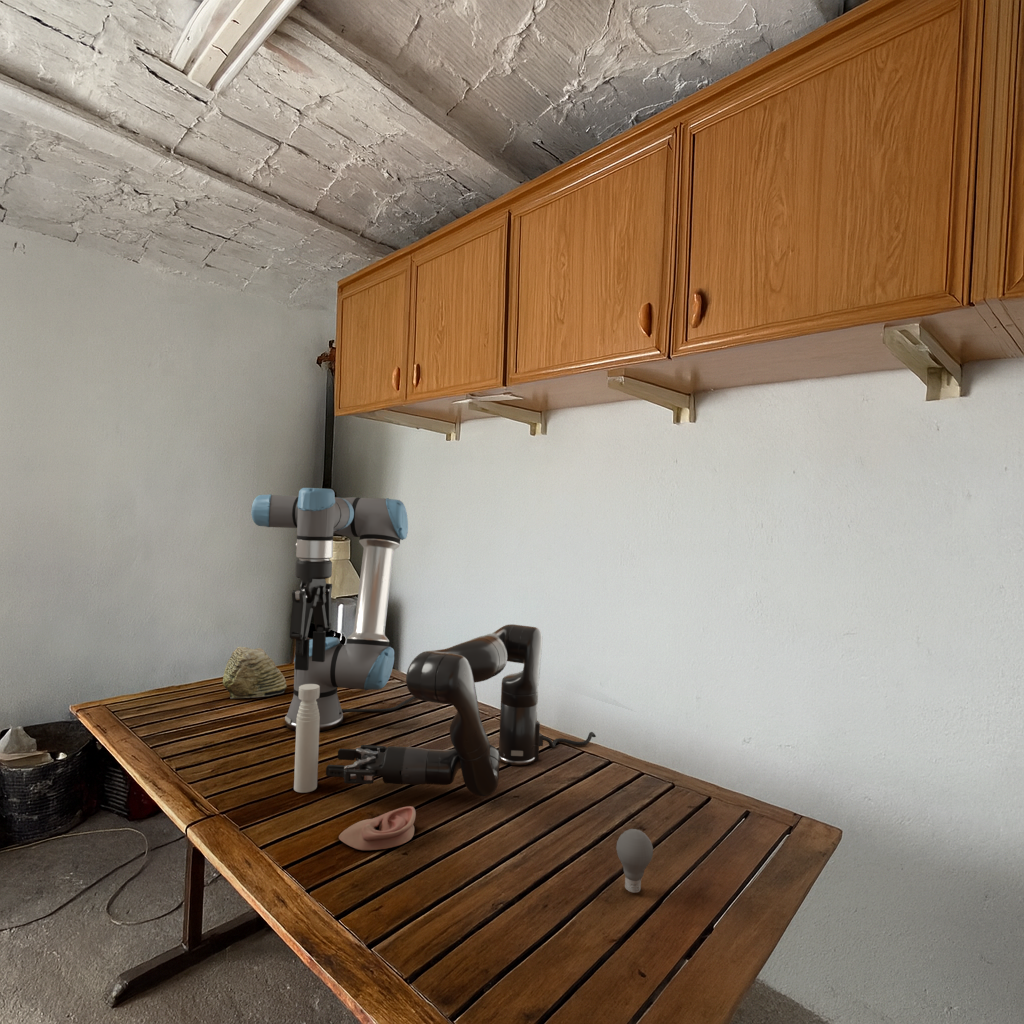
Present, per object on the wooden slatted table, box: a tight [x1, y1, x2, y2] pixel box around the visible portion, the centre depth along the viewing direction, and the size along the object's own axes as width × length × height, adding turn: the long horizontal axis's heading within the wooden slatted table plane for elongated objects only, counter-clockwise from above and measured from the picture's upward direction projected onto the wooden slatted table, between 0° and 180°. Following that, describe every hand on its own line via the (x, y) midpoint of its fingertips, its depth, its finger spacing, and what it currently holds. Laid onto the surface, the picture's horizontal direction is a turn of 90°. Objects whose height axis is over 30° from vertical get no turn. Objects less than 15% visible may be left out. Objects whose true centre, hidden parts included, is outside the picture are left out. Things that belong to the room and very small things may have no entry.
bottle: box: [293, 699, 320, 794], centre depth 137 cm, size 5×5×22 cm
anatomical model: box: [338, 805, 417, 851], centre depth 119 cm, size 13×4×12 cm
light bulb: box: [615, 828, 654, 894], centre depth 106 cm, size 6×6×10 cm
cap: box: [298, 684, 320, 701], centre depth 137 cm, size 4×4×2 cm
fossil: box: [222, 646, 288, 699], centre depth 198 cm, size 9×18×15 cm, turn 132°
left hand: (310, 665), depth 137 cm, fingers open, 7 cm apart
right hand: (332, 762), depth 137 cm, fingers open, 8 cm apart
